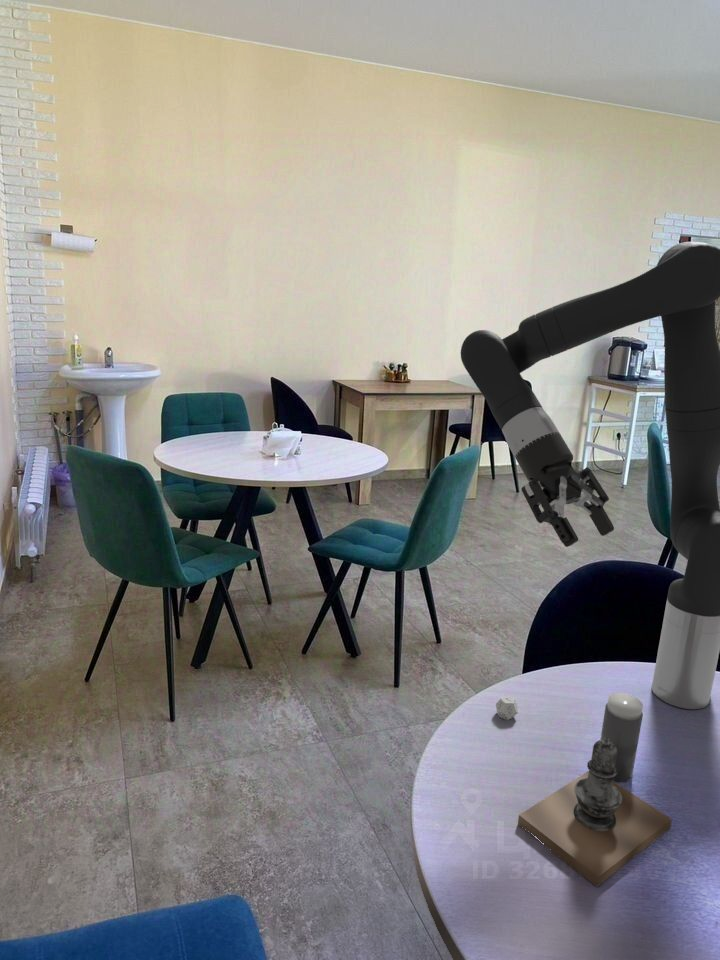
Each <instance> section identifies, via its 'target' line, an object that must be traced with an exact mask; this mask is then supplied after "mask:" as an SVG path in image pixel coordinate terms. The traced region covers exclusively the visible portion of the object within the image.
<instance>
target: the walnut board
mask: <svg viewBox="0 0 720 960" xmlns="http://www.w3.org/2000/svg"><path fill="white" fill-rule="evenodd" d="M588 774H589V770H588V771H586V772H584V773H583V774H582V775H579V776H578V777H577V778H575V779H573V780H572V781H570V782H569V783H567V784H565V785H564V786H562V787H561V788H559V789H558V790H556V791H554V792H553V793H551V794H550V795H548V796H547V797H545V798H544V799H542V800H541V801H538V802H537V803H536V804H534V805H532V806H531V807H529V808H527V809H526V810H524V811H523V812H521V813H520V814H518V821H517V825H518V824H519V825H520V826H521V827H520V826H519V825H518V826H519V827H520V828H522V827H523V828H524V829H526V830H527V831H529V832H530V833H532V834H533V835H534V836H536V837H537V838H538V839H539V840H540V841H541V842H542V843H544V845H546V846H547V847H548V848H549V849H551V850H552V851H553V852H554V853H555V856H557V857H558V856H559V857H560V858H559V857H558V858H559V859H560V860H562V859H563V860H564V861H563V860H562V861H563V862H565V863H566V864H567V865H568V866H569V867H570V868H572V869H573V870H574V871H576V872H577V873H579V874H580V875H581V876H582V877H583V878H585V879H586V880H587V881H588V882H590V883H591V884H592V885H593V886H595V887H596V888H598V887H599V886H601V884H603V883H604V882H605V881H607V880H608V879H609V878H610V877H612V876H613V875H614V874H615V873H617V872H618V871H619V870H620V869H621V868H623V867H624V866H625V865H626V864H628V863H629V862H631V860H633V859H634V858H636V857H637V856H638V855H639V854H640V853H641V852H642V851H645V850H646V849H647V848H648V847H649V846H650V845H652V844H653V843H655V841H657V840H658V839H659V838H660V837H661V836H663V835H664V834H665V833H667V832H668V831H669V830H671V826H672V820H673V818H672V817H669V816H668V815H667V814H665V813H664V812H662V811H661V810H659V809H657V808H656V807H654V806H652V804H650V803H648V802H646V801H645V800H644V799H642V798H640V797H639V796H638V795H636V794H634V793H633V792H631V791H629V790H628V789H626V788H625V787H623V785H621V784H619V783H618V782H616V781H613V785H614V786H615V787H616V788H617V789H618V790H619V792H620V793H621V796H622V803H621V805H620V806H619V807H618V809H617V810H616V811H615V813H614V815H615V818H616V824H615V826H614V827H613V828H612V829H610V830H608V831H595V830H592V829H589V828H587V827H585V826H584V825H582V824H581V823H580V822H579V821H578V820H577V819H576V817H575V816H574V807H575V805H576V804H577V803H578V800H577V797H576V793H575V790H574V789H575V784H576V783H577V782H578V781H579V780H580V779H583V778H588ZM523 828H522V829H523ZM524 829H523V830H524ZM527 831H526V832H527ZM541 842H540V843H541ZM542 843H541V844H542ZM544 845H543V846H544ZM546 846H545V847H546ZM547 847H546V848H547ZM548 848H547V849H548ZM549 849H548V850H549ZM551 850H550V851H551ZM552 851H551V852H552ZM553 852H552V853H553ZM554 853H553V854H554Z"/></svg>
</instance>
